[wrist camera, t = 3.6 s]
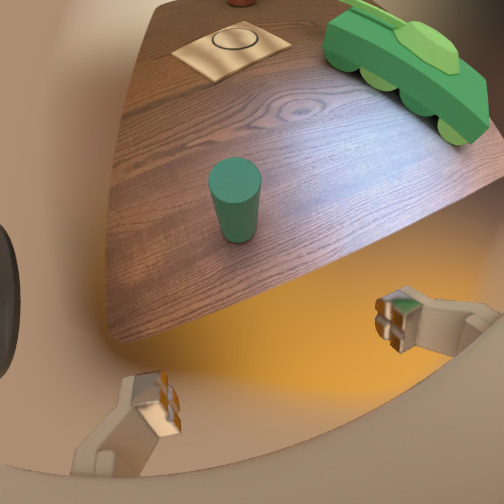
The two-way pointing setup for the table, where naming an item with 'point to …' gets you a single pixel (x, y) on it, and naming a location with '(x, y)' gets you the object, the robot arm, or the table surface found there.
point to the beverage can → (241, 3)
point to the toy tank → (410, 68)
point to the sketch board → (230, 50)
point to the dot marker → (236, 197)
